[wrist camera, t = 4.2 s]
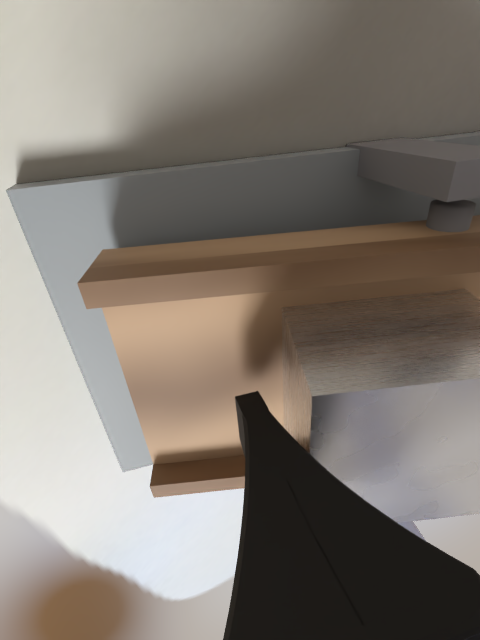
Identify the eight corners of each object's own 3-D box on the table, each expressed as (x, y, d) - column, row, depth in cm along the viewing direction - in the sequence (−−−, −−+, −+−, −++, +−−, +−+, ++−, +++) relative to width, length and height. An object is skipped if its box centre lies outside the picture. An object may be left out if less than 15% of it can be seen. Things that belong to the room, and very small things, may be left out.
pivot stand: (518, 357, 23) (611, 416, 19) (123, 457, 19) (119, 568, 14) (630, 111, 16) (832, 112, 11) (13, 181, 11) (-70, 230, 7)
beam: (602, 411, 17) (668, 463, 15) (163, 456, 17) (155, 518, 14) (772, 167, 11) (933, 186, 9) (96, 228, 11) (60, 266, 8)
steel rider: (426, 416, 14) (492, 512, 11) (284, 431, 14) (306, 532, 11) (464, 288, 11) (573, 368, 8) (281, 307, 11) (312, 396, 8)
